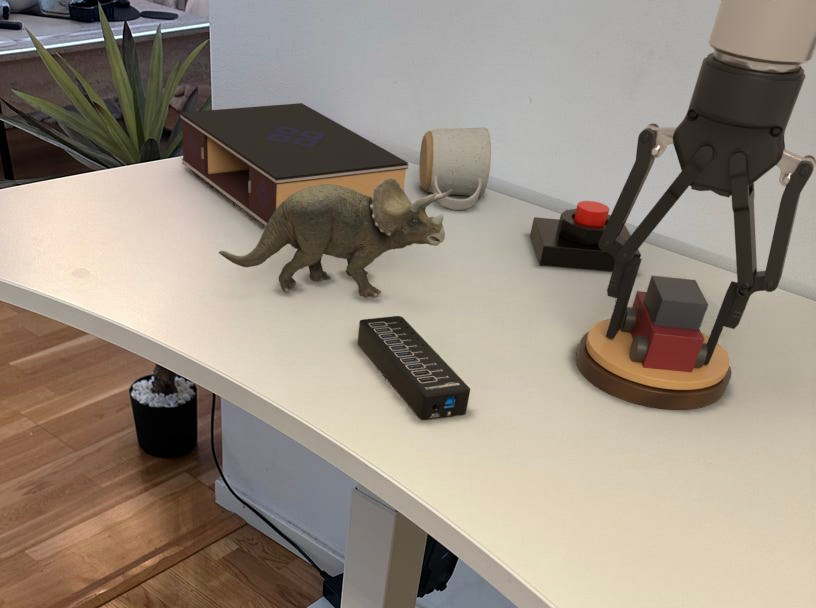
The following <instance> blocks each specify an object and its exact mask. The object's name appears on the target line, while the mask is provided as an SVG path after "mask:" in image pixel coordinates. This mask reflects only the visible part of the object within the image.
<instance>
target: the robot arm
mask: <svg viewBox="0 0 816 608" xmlns="http://www.w3.org/2000/svg"><path fill="white" fill-rule="evenodd" d="M716 13H717V14H716V16H715V20H714V23H713V27H712V31H711V33H710V36H709V39H708V44H709V46H710V47H711V48H712V49H713V50H714V51H713V52H711V53H709V54H707V55H706V57H704V58H703V59H702V62H701V66H700V69H699V72H698V76H697V79H696V81H695V86H694V89H693V92H692V94H691V95H692V96H691V98H690V101H689V105H688V108H687V111H686V114H685V116H684V118H683V120H681V122H680V123H679V124H678V125H677V126H676V127H664V126H663V127H660V126H659V125H658V124H657V123H653V122H652V123H650V124H647V126H646V127H645V128H644V129H643V130H642V131H641V132H640V133H639V135H638V137H637V145H636V153H635V162H634V163H633V165H632V168H631V170H630V172H629V174H628V176H627V179H626V181H625V183H624V185H623V187H622V190H621V191H620V194H619V196H618V198H617V201H616V203H615V205H614V207H613V209H612V211H611V214H610V218H609V220H608V223H607V225H606V227H605V229H604V231H603V234H602V236H601V238H600V240H599V243H598V246H599V248H600V249H601V250H602V251H607V252H608V253H610V254H611V255H612V256H613V257H614V259H615V264H614V268H613V271H612V272H611V275H610V278H609V282H608V286H607V289H606V294H607V297H609V298H613V299H616V300H615V304H614V307H613V311H612V314H611V317H610V318H611V320H610V324H609V327H608V330H607V334H606V337H609V338H612V339H614V337H615V336H616V334H617V333H618V331H619V330H620V328H621V325H622V322H623V319H624V315H625V312H626V309H627V307H629V306H628V305H629V302H630V299H631V296H632V292H633V289H634V286H635V282H636V280H637V276H638V273H639V269H640V266H641V263H642V260H643V259H642V258H641V257H640V258H637V257H633V256H634V253H635V252H636V251H637V250H639V249H640V248H641V246H642V245H643V244H644V243H645V241H647V239H648V237H650V235H651V233H653V231H654V230H655V229H656V228H657V226H658V225H659V224H660V223H661V221H662V220H663V219H664V218H665V216H666V215H667V214H668V213H669V211H670V210H671V209H672V208H673V206H675V204H676V203H677V201H678V200H679V199H680V198H681V197H682V196H683V194H684V193H685V192H686V190H688V188H689V187H691V188H690V189H691V190H693V191H698V192H709V191H710V192H713V193H714V194H716V195H718V196H721V197H724V198H730V197H731V208H732V212H733V228H734V229H733V230H734V246H735V262H736V265H735V266H736V278H737V279H736V280H737V281H732V280H731V281H730V284H729V285H728V288H727V290H726V292H725V295H724V297H723V300H722V302H721V305H720V308H719V310H718V312H717V316H716V318H715V320H714V322H713V323H714V324H713V326H712V329H711V331H710V334H709V336H708V337H709V339H708V342H707V356H706V360H705V362H704V364H707V365H708V364H709V362H710V359H711V357H712V355H713V353H714V350H715V347H716V345H717V343H718V342H719V340H720V337H721V334H722V332H723V329H724V328H728V329H733V330H735V329H736V328H737V327H738V326H739V324H740V322H741V320H742V318H743V315H744V312H745V310H746V307H747V305H748V302H749V299H750V297H751V296H752V295H753V294H754V293H757V292H764V291H765V292H768V293H772V292H774V291H776V289H777V288H778V287H779V284H780V281H781V279H782V277H783V276H782V275H783V272H784V267H785V263H786V260H787V259H786V258H787V254H788V250H789V245H790V241H791V237H792V232H793V227H794V223H795V219H796V215H797V210H798V207H799V201H800V199H801V193H802V191H803V189H804V188H805V187H806V185H807V182H809V179H810V178H811V176H812V174H813V172H814V169H815V167H816V157H814V156H813V155H810V154H809V155H805V156H802V155H799V154H797V153H794V152H791V151H790V150H787V149H786V143H785V133H786V129H787V127H788V124H789V122H790V118H791V116H792V114H793V112H794V109H795V105H796V103H797V101H798V98H799V95H800V93H801V90H802V87H803V85H804V81H805V79H806V74H805V69H804V68H803V67H802V65H803V64H807V63H808V62H811V60H812V59H813V58H814V56H815V52H816V0H720V3H719V7H718V9H717V12H716ZM670 145H673V147H674V150H675V151H674V152H675V153H676V157H677V160H678V163H679V166H680V170H681V172H679V174H678V175H677V177H676V178H675V179H674V180H673V181H672V182H671V184H670V185H669V186H668V188H667V189H666V190H665V191H664V193H663V194H662V195H661V197H660V198H659V199H658V200H657V202H656V203H655V205H654V206H653V207H652V208H651V209H650V211H649V212H648V213H647V214H646V216H645V217H644V218H643V220H642V221H641V222H640V224H639V225H638V226H637V227H636V228H635V230H634V231H633V232H632V233H631V234H630V235H631V236H630V237H629V239H628V240H626V239H624V238H623V237H622V236H620V234H621V231H622V229H623V227H624V225H625V226H626V222H627V221H628V218H629V216H630V215H631V213H632V210H633V208H634V207H635V204H636V201H637V199H638V197H639V195H640V193H641V191H642V189H643V186H644V185H645V183H646V180H647V178H648V177H649V176H648V175H649V174H650V171H651V170H652V167H653V165H654V163H655V160H656V159H658V158H660V157H661V156H662V155H663V154H664V153H665V151H666V149H667V146H670ZM776 166H777V167H778V168H779V171H780V175H779V178H778V179H779V183H780V184H781V185H782V186H783V187H784V190H783V193H782V195H781V199H780V201H779V202H780V203H779V207H778V210H777V216H776V220H775V224H774V229H773V235H772V239H771V244H770V247H769V253H768V257H767V262H766V266H765V270H760V271H759V270H758V263H757V262H758V259H757V242H756V217H755V215H756V214H755V183H756V182H757V181H758V180H760V179H761V178H762V177H763V176H765V175H766V174H767V173H768V172H769V171H770V170H773V168H774V167H776Z"/></svg>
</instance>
